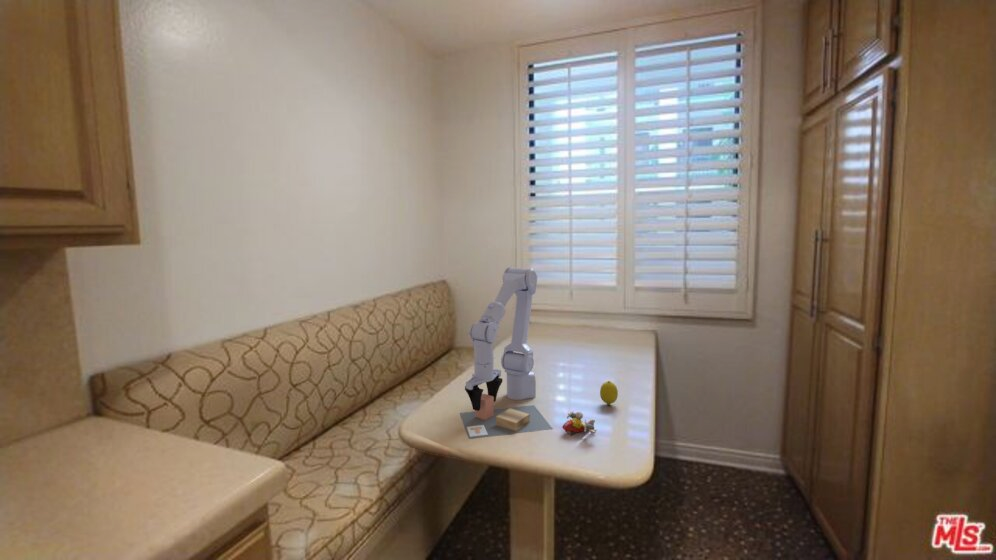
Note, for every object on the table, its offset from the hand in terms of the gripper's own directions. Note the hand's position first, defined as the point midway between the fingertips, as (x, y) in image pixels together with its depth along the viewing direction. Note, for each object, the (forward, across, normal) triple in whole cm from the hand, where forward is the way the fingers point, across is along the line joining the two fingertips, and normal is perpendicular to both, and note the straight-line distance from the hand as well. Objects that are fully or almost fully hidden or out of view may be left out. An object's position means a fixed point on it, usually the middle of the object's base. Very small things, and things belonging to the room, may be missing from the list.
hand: (484, 405), depth 132 cm
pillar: (+3, 0, 0) cm, 3 cm away
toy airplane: (+4, -8, +28) cm, 29 cm away
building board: (+4, -1, +7) cm, 8 cm away
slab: (+3, -1, +10) cm, 11 cm away
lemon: (+4, -32, +26) cm, 41 cm away
